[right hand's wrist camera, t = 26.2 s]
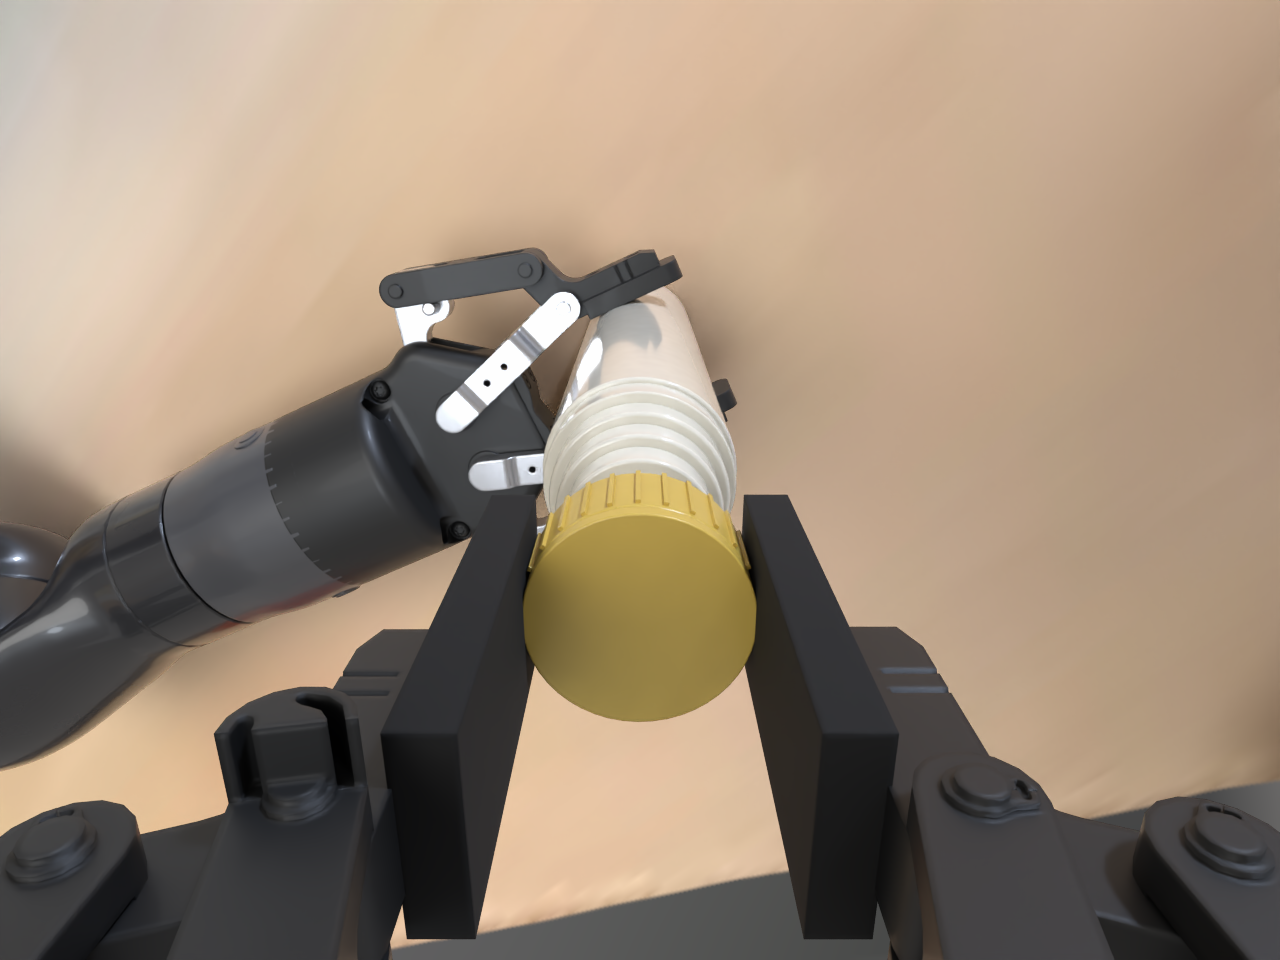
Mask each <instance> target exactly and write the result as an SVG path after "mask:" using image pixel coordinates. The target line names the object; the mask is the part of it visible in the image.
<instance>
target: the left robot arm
mask: <svg viewBox="0 0 1280 960" xmlns="http://www.w3.org/2000/svg"><path fill="white" fill-rule="evenodd" d="M682 276H683V275H682V273H681V271H680V268H679V266H678V263H677V261H676V259H675V257H674V255H673V256H670V257H667V258H665V259H662V260H660V261H659V260H658V258H657V255H656V253H655V251H654V250H639V251H637V252H635V253H633V254H630V255H628V256H626V257H624V258H622V259H620V260H618V261H616V262H613V263H611V264H609V265H607V266H605V267H603V268H601V269H598V270H596V271H594V272H592V273H590V274H588V275H586V276H583V277H580V278H571V277H568V276H565V275H564V274H562V273H561V272H560V271H559V270H558V269H557V268H556V267H555V266H554V265H553V264H552V263H551V262H550V261H549V260H548V258H547V256H546V254H545V253H544V252H543V251H542V250H540V249H537V248H527V249H521V250H515V251H509V252H503V253H496V254H490V255H484V256H478V257H472V258H466V259H460V260H454V261H448V262H442V263H436V264H430V265H424V266H417V267H411V268H407V269H404V270H401V271H399V272H396V273H393V274H391V275H388V276H386V277H385V278H384V279H383V280H382V281H381V283H380V286H379V293H380V296H381V298H382V300H383V301H384V302H385V303H386V304H387V305H388V306H390V307H393V308H394V309H395V313H396V317H397V321H398V325H399V329H400V333H401V336H402V340H403V344H404V347H402V348H401V349H400V350H399V351H398V352H397V354H396V355H395V357H394V358H393V360H392V361H391V363H390V364H389V365H388V366H387V367H386V368H384V369H382V370H381V371H379V372H376V373H374V374H372V375H370V376H368V377H366V378H364V379H362V380H359V381H357V382H355V383H353V384H351V385H349V386H347V387H344V388H342V389H340V390H338V391H336V392H334V393H332V394H330V395H327V396H325V397H323V398H321V399H319V400H317V401H315V402H313V403H310V404H308V405H306V406H304V407H302V408H300V409H297V410H295V411H293V412H291V413H289V414H287V415H285V416H282V417H281V418H279V419H276V420H274V421H272V422H270V423H268V424H266V425H263V426H261V427H259V428H256V429H253V430H251V431H249V432H247V433H246V434H244V435H242V436H240V437H238V438H236V439H234V440H232V441H230V442H228V443H226V444H224V445H222V446H221V447H219V448H217V449H216V450H214V451H213V452H211V453H210V454H208V455H207V456H205V457H204V458H202V459H201V460H200V461H198V462H196V463H195V464H193V465H192V466H190V467H188V468H186V469H184V470H182V471H180V472H178V473H175V474H173V475H171V476H169V477H167V478H165V479H163V480H160V481H158V482H156V483H154V484H152V485H150V486H148V487H145V488H143V489H141V490H139V491H137V492H135V493H133V494H130V495H129V496H126V497H124V498H122V499H120V500H118V501H116V502H114V503H112V504H111V505H109V506H107V507H105V508H103V509H101V510H100V511H98V512H96V513H95V514H93V515H92V516H90V517H89V518H88V519H87V520H85V521H84V522H83V523H82V524H81V525H80V526H79V527H78V529H77V530H76V531H75V532H74V533H73V534H72V536H71V537H70V539H69V540H68V539H66V538H64V537H62V536H60V535H58V534H56V533H53V532H50V531H48V530H45V529H42V528H38V527H33V526H29V525H24V524H17V523H8V522H0V771H5V770H9V769H12V768H16V767H19V766H22V765H25V764H29V763H31V762H34V761H37V760H39V759H41V758H44V757H46V756H48V755H50V754H52V753H54V752H56V751H58V750H60V749H62V748H64V747H65V746H67V745H69V744H71V743H73V742H74V741H76V740H78V739H79V738H81V737H82V736H83V735H85V734H86V733H88V732H89V731H91V730H92V729H93V728H95V727H96V726H97V725H99V724H100V723H101V722H102V721H104V720H105V719H106V718H108V717H109V716H110V715H111V714H113V713H114V712H115V711H116V710H118V709H119V708H120V707H121V706H123V705H124V704H125V703H126V702H128V701H129V700H130V699H132V698H133V697H134V696H135V695H137V694H138V693H139V692H140V691H142V690H143V689H144V688H145V687H147V686H148V685H149V684H151V683H152V682H153V681H154V680H156V679H157V678H158V677H160V676H161V675H162V674H163V673H164V672H165V671H166V670H167V669H168V668H170V667H171V666H172V665H173V664H174V663H175V662H176V661H177V660H178V659H179V658H181V657H182V656H183V655H184V654H186V653H187V652H189V651H191V650H194V649H196V648H198V647H201V646H203V645H206V644H208V643H211V642H213V641H216V640H218V639H220V638H223V637H225V636H227V635H230V634H232V633H234V632H237V631H239V630H241V629H244V628H246V627H248V626H251V625H253V624H255V623H258V622H260V621H262V620H265V619H267V618H270V617H273V616H277V615H280V614H284V613H288V612H292V611H296V610H299V609H303V608H306V607H309V606H312V605H314V604H317V603H319V602H322V601H324V600H327V599H329V598H333V597H336V598H337V597H340V596H343V595H345V594H348V593H350V592H352V591H354V590H356V589H358V588H359V587H360V585H362V584H364V583H367V582H369V581H371V580H374V579H376V578H378V577H381V576H383V575H385V574H388V573H390V572H392V571H394V570H397V569H399V568H402V567H404V566H406V565H409V564H411V563H413V562H416V561H418V560H420V559H423V558H425V557H427V556H430V555H432V554H434V553H437V552H439V551H442V550H444V549H446V548H449V547H451V546H453V545H456V544H458V543H460V542H462V541H464V540H466V539H468V538H471V537H472V536H473V534H474V532H475V530H476V528H477V526H478V524H479V522H480V519H481V517H482V515H483V513H484V511H485V509H486V507H487V505H488V502H489V500H490V498H491V496H492V495H536V499H537V498H538V496H539V494H540V492H541V491H542V489H543V457H544V451H545V447H546V443H547V440H548V437H549V434H550V431H551V428H552V426H553V423H554V420H555V416H554V414H553V413H552V412H551V411H550V410H549V409H548V408H547V406H546V405H545V404H544V403H543V402H542V401H541V399H540V396H539V391H538V386H537V381H536V379H535V377H534V375H533V373H532V371H531V369H530V367H529V366H530V365H531V364H532V363H533V362H534V361H535V360H536V359H537V358H538V357H539V356H540V355H541V353H542V352H543V351H544V350H545V349H546V348H547V347H548V346H550V345H551V344H552V343H553V342H554V341H555V340H556V339H557V338H558V337H559V336H560V335H561V334H562V333H563V332H564V331H565V330H566V329H567V328H568V327H569V326H570V325H572V324H573V323H574V322H575V321H576V320H577V319H579V318H581V317H583V316H585V315H588V316H589V318H590V320H592V319H594V318H596V317H598V316H600V315H603V314H605V313H607V312H609V311H611V310H613V309H614V308H617V307H620V306H622V305H624V304H626V303H629V302H631V301H633V300H635V299H637V298H640V297H642V296H644V295H646V294H648V293H650V292H653V291H655V290H657V289H659V288H661V287H663V286H666V285H668V284H670V283H672V282H674V281H676V280H678V279H680V278H681V277H682ZM521 288H524V289H525V290H526V291H527V292H528V293H529V294H530V295H531V296H532V297H533V298H534V299H535V300H536V301H537V302H538V303H539V304H540V305H541V306H539V307H538V308H537V309H536V310H535V311H534V312H533V313H532V314H531V315H530V316H529V317H528V318H527V319H526V320H525V321H524V322H523V323H522V324H521V325H520V326H519V327H518V328H516V329H515V330H514V331H513V332H512V333H511V334H510V335H509V336H508V337H507V338H506V339H505V340H504V341H503V342H502V343H501V344H500V345H499V346H498V347H497V348H496V349H495V350H494V349H489V348H484V347H479V346H474V345H469V344H464V343H459V342H454V341H449V340H444V339H439V338H434V337H433V336H432V330H433V327H434V325H435V323H437V322H440V321H442V320H444V319H445V318H447V317H448V316H449V315H450V314H451V313H452V312H453V310H454V306H455V303H454V299H459V298H465V297H471V296H477V295H484V294H490V293H496V292H502V291H508V290H515V289H521ZM712 385H713V388H714V391H715V394H716V396H717V399H718V402H719V405H720V408H721V411H722V413H723V416H724V419H725V422H727V418H726V415H725V411H727V410H729V409H731V408H733V407H734V406H735V405H736V404H737V402H736V399H735V397H734V395H733V392H732V390H731V387H730V385H729V383H728V381H727V379H721V380H717V381H715V382H713V383H712ZM547 518H548V516H546V517H544V518H537V535H538V533H542V532H543V530H544V528H545V525H546V522H547Z"/></svg>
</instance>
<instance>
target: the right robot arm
mask: <svg viewBox="0 0 1280 960" xmlns="http://www.w3.org/2000/svg"><path fill="white" fill-rule="evenodd" d="M536 538H537V516H536V495H492V496H491V498H490V500H489V502H488V505H487V507H486V509H485V511H484V513H483V515H482V517H481V519H480V522H479V524H478V526H477V528H476V530H475V532H474V534H473V536H472V539H471V541H470V543H469V545H468V547H467V549H466V551H465V554H464V556H463V558H462V560H461V562H460V564H459V566H458V568H457V571H456V573H455V575H454V577H453V579H452V581H451V583H450V586H449V588H448V590H447V592H446V594H445V596H444V598H443V600H442V603H441V605H440V607H439V609H438V611H437V613H436V615H435V617H434V620H433V622H432V624H431V626H430V628H429V629H383V630H382V631H381V632H379V633H378V634H377V635H375V636H374V637H373V638H371V639H370V640H368V641H367V642H366V643H364V644H363V645H362V646H360V647H359V648H358V649H357V650H356V651H355V653H354V655H353V656H352V658H351V660H350V661H349V663H348V665H347V666H346V668H345V670H344V671H343V677H340V678H339V680H338V681H337V683H336V685H335V686H334V688H333V689H330V688H327V687H297V688H292V689H287V690H282V691H278V692H273V693H271V694H268V695H266V696H263V697H261V698H258V699H256V700H254V701H251V702H249V703H247V704H245V705H244V706H243V707H241V708H240V709H238V710H237V711H235V712H234V713H232V714H231V715H229V716H228V717H227V718H226V719H225V720H224V721H223V723H222V724H221V725H220V727H219V728H218V729H217V730H216V732H215V733H214V737H215V742H216V746H217V751H218V756H219V760H220V765H221V770H222V774H223V779H224V784H225V788H226V793H227V798H228V802H229V804H228V806H227V809H226V811H225V813H223V814H221V815H218V816H214V817H211V818H208V819H204V820H201V821H198V822H193V823H189V824H184V825H180V826H176V827H171V828H167V829H162V830H158V831H153V832H149V833H145V834H140V832H139V828H138V824H137V821H136V817H135V815H133V814H132V813H131V812H130V811H129V810H128V809H127V808H126V807H125V806H124V805H122V804H117V803H113V802H108V801H103V800H100V801H89V802H78V803H72V804H69V805H66V806H62V807H59V808H55V809H52V810H49V811H46V812H43V813H41V814H39V815H37V816H35V817H33V818H31V819H29V820H27V821H25V822H23V823H21V824H19V825H17V826H15V827H13V828H11V829H10V830H9V831H7V832H6V833H5V834H3V835H2V836H1V837H0V960H392V953H391V946H390V940H391V937H392V934H393V931H394V928H395V925H396V922H397V919H398V916H399V913H400V910H401V906H402V905H403V913H404V920H405V928H406V936H407V939H476V935H477V930H478V925H479V921H480V916H481V912H482V907H483V902H484V898H485V893H486V888H487V884H488V879H489V874H490V870H491V865H492V861H493V856H494V851H495V847H496V842H497V837H498V833H499V828H500V824H501V819H502V814H503V810H504V805H505V800H506V796H507V791H508V786H509V782H510V777H511V773H512V768H513V763H514V759H515V754H516V749H517V745H518V740H519V736H520V731H521V726H522V722H523V717H524V712H525V708H526V703H527V699H528V694H529V689H530V685H531V680H532V675H533V671H534V666H535V665H534V663H533V661H532V660H531V657H530V655H529V653H528V650H527V648H526V645H525V634H524V617H523V597H524V592H525V588H526V585H527V581H528V578H529V574H530V572H529V571H527V569H528V565H529V562H530V559H531V555H532V552H533V548H534V545H535V541H536ZM742 538H743V541H744V545H745V548H746V552H747V555H748V559H749V562H750V566H751V569H748V570H749V574H750V577H751V581H752V585H753V588H754V592H755V595H756V625H755V641H754V645H753V648H752V651H751V653H750V656H749V658H748V660H747V662H746V664H745V669H746V673H747V678H748V682H749V687H750V692H751V696H752V701H753V706H754V710H755V715H756V719H757V724H758V729H759V733H760V738H761V743H762V747H763V752H764V757H765V761H766V766H767V770H768V775H769V780H770V784H771V789H772V794H773V798H774V803H775V807H776V812H777V817H778V821H779V826H780V831H781V835H782V840H783V845H784V849H785V854H786V858H787V863H788V868H789V872H790V877H791V882H792V886H793V890H794V896H795V900H796V905H797V909H798V914H799V919H800V923H801V928H802V933H803V937H804V939H873V932H874V924H875V916H876V908H877V901H878V904H879V907H880V910H881V913H882V916H883V919H884V922H885V925H886V928H887V931H888V934H889V938H890V946H889V953H888V960H1280V832H1278V831H1277V830H1276V829H1274V828H1273V827H1272V826H1270V825H1269V824H1267V823H1265V822H1263V821H1261V820H1259V819H1257V818H1255V817H1253V816H1251V815H1249V814H1247V813H1245V812H1243V811H1241V810H1239V809H1237V808H1233V807H1230V806H1227V805H1225V804H1220V803H1217V802H1214V801H1210V800H1207V799H1198V798H1188V797H1174V798H1169V799H1165V800H1160V801H1156V802H1155V803H1154V804H1153V805H1152V806H1151V807H1150V808H1149V809H1148V810H1147V811H1146V812H1145V814H1144V818H1143V822H1142V826H1141V829H1140V831H1138V830H1133V829H1129V828H1124V827H1120V826H1115V825H1111V824H1106V823H1102V822H1098V821H1093V820H1089V819H1084V818H1080V817H1077V816H1074V815H1070V814H1067V813H1063V812H1060V811H1058V810H1055V809H1054V808H1053V805H1052V803H1051V801H1050V800H1049V798H1048V797H1047V795H1046V794H1045V792H1044V791H1043V789H1042V788H1041V786H1040V785H1039V784H1038V783H1037V782H1035V781H1034V780H1033V779H1032V778H1030V777H1029V776H1028V775H1026V774H1025V773H1024V772H1023V771H1021V770H1020V769H1019V768H1016V767H1014V766H1012V765H1010V764H1008V763H1006V762H1003V761H1001V760H999V759H997V758H995V757H991V756H989V755H988V753H987V751H986V750H985V748H984V746H983V745H982V743H981V741H980V740H979V738H978V736H977V735H976V733H975V731H974V730H973V728H972V727H971V725H970V723H969V722H968V720H967V718H966V717H965V715H964V713H963V712H962V710H961V708H960V707H959V705H958V703H957V702H956V700H955V699H954V697H953V695H952V694H951V693H949V692H948V687H947V685H946V684H945V682H944V680H943V679H942V677H941V675H940V674H937V669H936V667H935V666H934V664H933V662H932V661H931V659H930V657H929V656H928V654H927V652H926V651H925V649H924V647H923V646H922V645H920V644H919V643H918V642H916V641H915V640H913V639H912V638H911V637H909V636H908V635H907V634H905V633H904V632H903V631H901V630H900V629H899V628H897V627H849V625H848V623H847V621H846V619H845V617H844V614H843V612H842V610H841V608H840V606H839V604H838V602H837V600H836V597H835V595H834V593H833V591H832V589H831V587H830V585H829V582H828V580H827V578H826V576H825V574H824V572H823V570H822V568H821V565H820V563H819V561H818V559H817V557H816V555H815V553H814V550H813V548H812V546H811V544H810V542H809V540H808V538H807V536H806V533H805V531H804V529H803V527H802V525H801V523H800V521H799V518H798V516H797V514H796V512H795V510H794V508H793V506H792V504H791V501H790V499H789V497H788V495H744V505H743V526H742Z"/></svg>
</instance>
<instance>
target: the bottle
mask: <svg viewBox="0 0 1280 960" xmlns="http://www.w3.org/2000/svg"><path fill="white" fill-rule="evenodd" d="M636 470H641V473H651V474H658V475H661V474H662V472H663V473H667V476H668V477H671V478H674V479H677V480H680V481H683V482H685V483H686V481H687V480H688V481H690V482H691V484H692V486H693V487H695V488H697V489H699V490H700V491H702V492H703V493H705V494H706V495H707V494H708V493H710V494H711V495H712V496H713V500H714V502H716V503H717V504H718V505H719V506H720V508H721V509H722V510H723V511H726V510H727V511H728V512H729V513H730V512H731V510H732V507H733V503H734V499H735V493H736V474H737V464H736V454H735V449H734V445H733V442H732V439H731V436H730V433H729V430H728V427H727V425H726V422H725V419H724V416H723V413H722V411H721V408H720V405H719V402H718V399H717V396H716V394H715V391H714V388H713V385H712V382H711V380H710V377H709V374H708V371H707V368H706V366H705V363H704V360H703V357H702V354H701V351H700V349H699V346H698V343H697V340H696V337H695V335H694V332H693V329H692V326H691V323H690V320H689V318H688V315H687V312H686V310H685V308H684V306H683V304H682V303H681V301H680V300H679V299H678V298H677V296H676V295H675V294H674V293H672V292H671V291H670V290H669V289H667V288H665V287H664V286H663V287H661V288H659V289H657V290H655V291H653V292H650V293H648V294H646V295H644V296H642V297H640V298H637V299H635V300H633V301H631V302H629V303H626V304H624V305H622V306H620V307H617V308H614V309H613V310H611V311H609V312H607V313H605V314H603V315H600V316H598V317H596V318H594V319H592V320H590V322H589V325H588V328H587V331H586V333H585V336H584V339H583V342H582V345H581V347H580V350H579V353H578V356H577V359H576V361H575V364H574V367H573V370H572V373H571V375H570V378H569V381H568V384H567V386H566V389H565V392H564V395H563V398H562V400H561V403H560V406H559V409H558V412H557V414H556V417H555V420H554V423H553V426H552V428H551V431H550V434H549V437H548V440H547V443H546V447H545V451H544V457H543V490H544V497H545V502H546V505H547V509H548V512H549V514H550V512H552V513H553V514H554V512H555V511H556V510H557V509H558V508H559V507H560V506H561V505H562V504H563V503H564V499H565V497H566V496H567V495H569V496H570V497H571V496H572V495H573V494H574V493H576V492H578V491H579V490H581V489H582V488H584V487H585V484H586V483H587V482H589V481H590V482H591V484H592V483H594V482H597V481H599V480H602V479H605V478H608V477H610V474H612V473H615V475H620V474H630V473H636Z"/></svg>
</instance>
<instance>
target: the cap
mask: <svg viewBox="0 0 1280 960" xmlns="http://www.w3.org/2000/svg"><path fill="white" fill-rule="evenodd" d="M748 569H751V566H750V562H749V559H748V555H747V552H746V548H745V545H744V541H743V538H742V534H741V532H740V530H739V531H736V530H735V527H734V525H733V524H732V521H731V517H730V513H729V512H728V511H727V510H726V511H723V510H722V509H721V508H720V506H719V505H718V504H717V503H716V502H714V500H713V496H712V495H711V494H710V493H708V494H707V495H706V494H705V493H703V492H702V491H700V490H699V489H697V488H695V487H693V486H692V484H691V482H690V481H688V480H687V481H686V483H685V482H683V481H680V480H677V479H674V478H671V477H668V476H667V473H663V472H662V474H661V475H658V474H651V473H641V470H636V473H630V474H620V475H615V473H612V474H610V477H608V478H605V479H602V480H599V481H597V482H594V483H592V484H591V482H590V481H589V482H587V483H586V484H585V487H584V488H582V489H581V490H579V491H578V492H576V493H574V494H573V495H572V496H571V497H570V496H569V495H567V496H566V497H565V499H564V503H563V504H562V505H561V506H560V507H559V508H558V509H557V510H556V511H555V512H554V514H553V513H552V512H550V514H549V515H548V518H547V522H546V525H545V528H544V530H543V532H542V533H538V535H537V538H536V541H535V545H534V548H533V552H532V555H531V559H530V562H529V565H528V569H527V571H529V572H530V574H529V578H528V581H527V585H526V588H525V592H524V597H523V617H524V634H525V645H526V648H527V650H528V653H529V655H530V657H531V660H532V661H533V663H534V665H535V666H536V668H537V670H538V671H539V673H540V674H541V675H542V677H543V678H544V679H545V680H546V682H547V683H548V684H549V685H550V686H551V687H552V688H553V689H554V690H555V691H556V692H557V693H559V694H560V695H561V696H563V697H564V698H565V699H567V700H568V701H570V702H571V703H573V704H575V705H577V706H578V707H580V708H582V709H584V710H587V711H589V712H591V713H594V714H596V715H600V716H603V717H606V718H610V719H616V720H621V721H633V722H645V721H657V720H664V719H669V718H673V717H676V716H680V715H683V714H685V713H688V712H690V711H693V710H695V709H697V708H699V707H701V706H703V705H705V704H706V703H708V702H709V701H711V700H712V699H714V698H715V697H717V696H718V695H719V694H720V693H722V692H723V691H724V690H725V689H726V688H727V687H728V686H729V685H730V684H731V683H732V682H733V681H734V679H735V678H736V677H737V676H738V675H739V673H740V672H741V670H742V668H743V667H744V665H745V664H746V662H747V660H748V658H749V656H750V653H751V651H752V648H753V645H754V641H755V625H756V595H755V592H754V588H753V585H752V581H751V577H750V574H749V570H748Z"/></svg>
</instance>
